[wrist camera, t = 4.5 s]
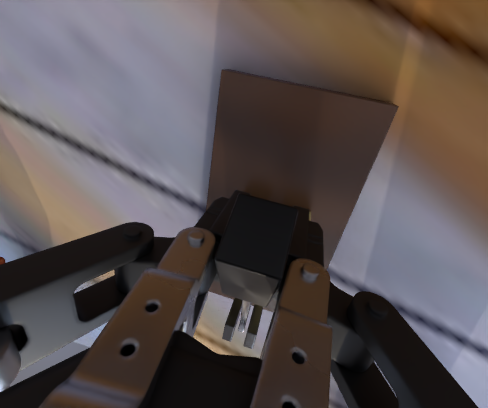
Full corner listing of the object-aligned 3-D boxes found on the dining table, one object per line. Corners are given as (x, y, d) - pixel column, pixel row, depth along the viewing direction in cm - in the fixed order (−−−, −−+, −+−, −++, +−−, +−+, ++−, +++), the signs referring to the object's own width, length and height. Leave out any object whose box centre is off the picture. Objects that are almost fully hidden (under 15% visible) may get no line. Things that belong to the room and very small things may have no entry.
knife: (258, 139, 10) (212, 259, 7) (312, 152, 9) (282, 280, 7) (245, 277, 26) (229, 328, 24) (264, 283, 26) (251, 336, 23)
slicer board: (227, 68, 20) (183, 72, 13) (393, 103, 18) (434, 125, 12) (202, 278, 31) (171, 335, 24) (304, 310, 29) (299, 381, 23)
